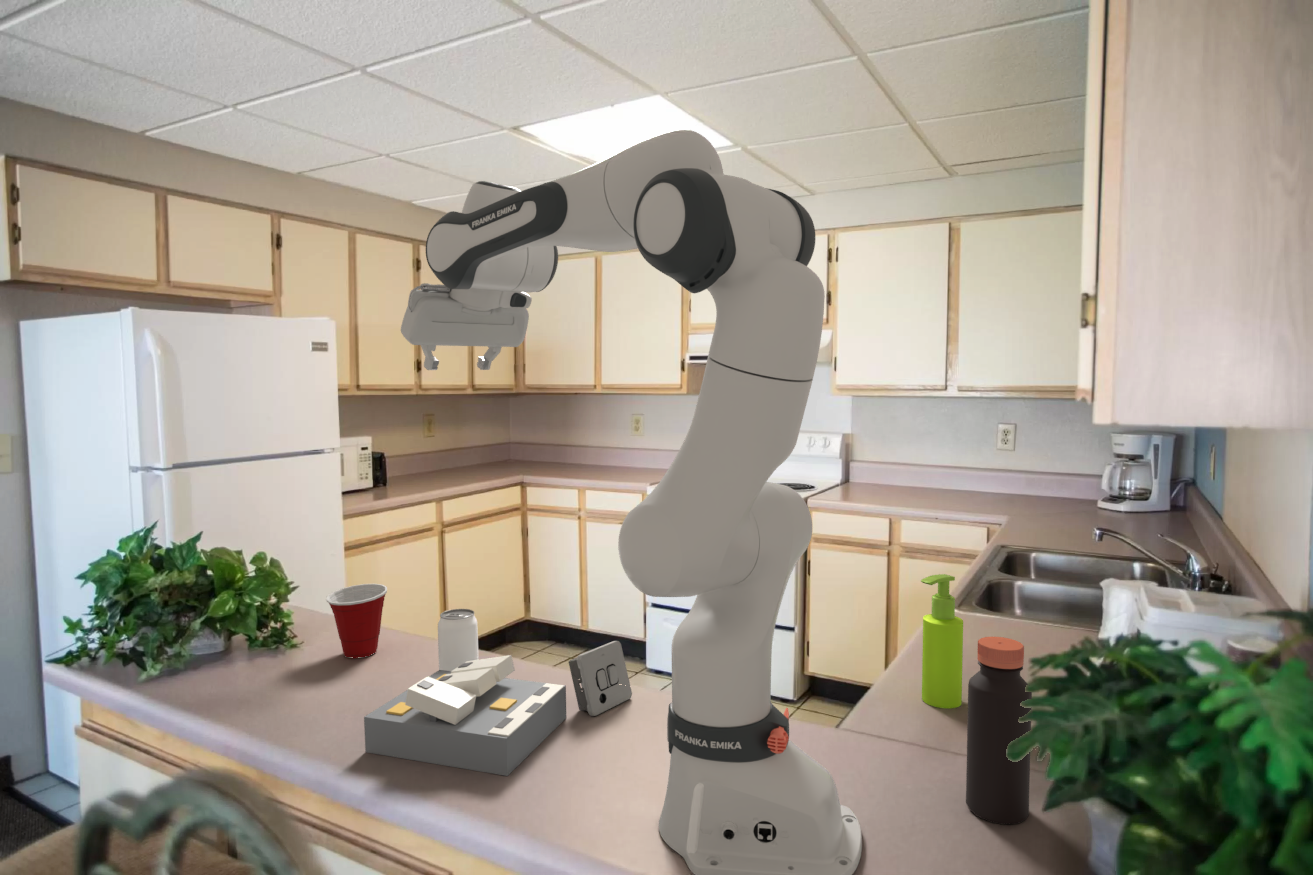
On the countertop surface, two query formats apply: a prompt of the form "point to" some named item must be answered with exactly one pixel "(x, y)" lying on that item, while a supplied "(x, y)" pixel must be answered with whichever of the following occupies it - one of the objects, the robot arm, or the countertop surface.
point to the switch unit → (471, 727)
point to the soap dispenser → (942, 648)
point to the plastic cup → (358, 617)
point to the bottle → (997, 733)
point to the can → (457, 638)
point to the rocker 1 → (440, 700)
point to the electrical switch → (600, 678)
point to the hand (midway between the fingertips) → (457, 368)
